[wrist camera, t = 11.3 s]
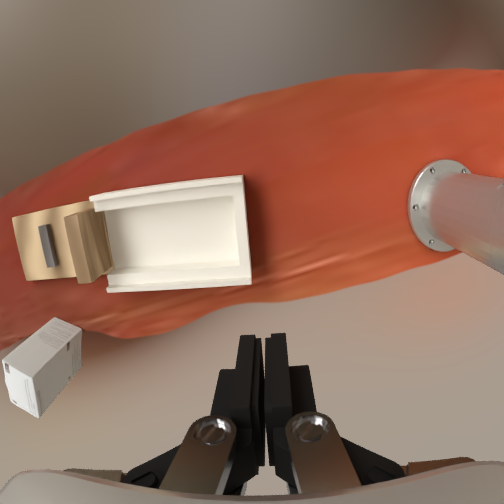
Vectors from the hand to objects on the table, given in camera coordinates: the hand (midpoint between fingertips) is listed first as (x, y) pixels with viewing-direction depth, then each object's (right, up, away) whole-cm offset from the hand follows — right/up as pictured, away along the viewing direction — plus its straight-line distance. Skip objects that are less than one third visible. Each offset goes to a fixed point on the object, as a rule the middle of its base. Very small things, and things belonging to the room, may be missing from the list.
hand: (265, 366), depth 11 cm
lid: (-28, +6, +29) cm, 40 cm away
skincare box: (-31, -10, +33) cm, 46 cm away
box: (-10, +7, +28) cm, 30 cm away
